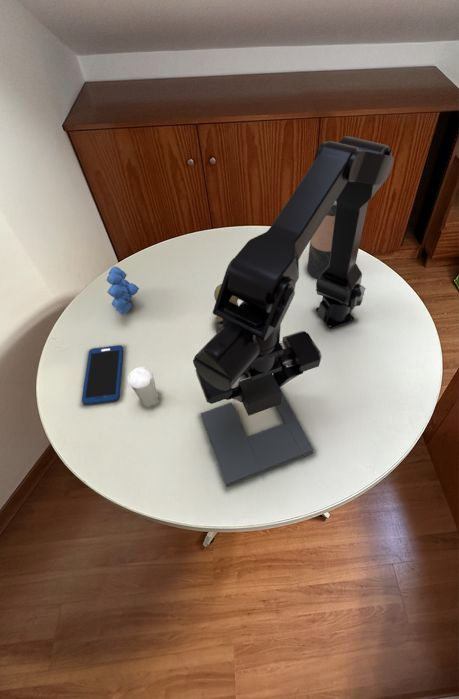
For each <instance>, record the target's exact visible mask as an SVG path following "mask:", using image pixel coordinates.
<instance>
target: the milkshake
mask: <svg viewBox="0 0 459 699" xmlns="http://www.w3.org/2000/svg"><path fill="white" fill-rule="evenodd" d="M127 383H128V385H129V386H130V387H131V389H132V391H134V393H135V395H136V396H137V398H138V399H139V401H140V402H141V403H142V405H143V406H145V407H146V408H152V407H154V406H156V405H157V404H158V402H159V400H160V399H159V395H158V391H157V386H156V382H155V377H154V372H153V371H152V369H150V368H148V367H147V366H138V367H135V368H133V369H132V370H131V372H130V373H129V374H128V376H127Z"/></svg>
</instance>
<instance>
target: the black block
mask: <svg viewBox="0 0 459 699" xmlns="http://www.w3.org/2000/svg"><path fill="white" fill-rule="evenodd" d="M239 385H240V387H241V389H242V391H243V393H244V401H243V402H241V403H242V405H243V408H244V409H245V412H246V414H247V416H248V417H250V416H253V415H255V414H259V413H261V412H265V411H266V410H269V409H272V408H276V407H275V406H278V405H280V404H281V399H282V392H283V391H282V388H281V387H279V385H278V383H277V382H276V380H275V378H274V376H273V373H272V374H270V375H267V376H264V377H261V378H258V379H255V380H252V381H251V379H250V378H249V379H246V380H244V381H241V382H239Z"/></svg>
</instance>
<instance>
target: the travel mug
mask: <svg viewBox="0 0 459 699" xmlns="http://www.w3.org/2000/svg"><path fill="white" fill-rule="evenodd" d="M335 212H336V201H335V203H334V204H333V206H332V207H331V209H330V210H329V212H328V214H327V215H326V217H325V218H324V220H323V221H322V223H321V224H320V226H319V228H318V229H317V231H316V232H315V234H314V235H313V237H312V239H311V240H310V242H309V248H308V259H307V266H306V267H307V269H306V270H307V273H308V274H309V276H311V277H312V278H314V279H316V280H317V279H318V277H319V275H320V273H321V272H322V271H323V270H324V269H325V268H326V266H327V265H328V264H329V261H330V253H331V245H332V237H333V228H334V220H335Z"/></svg>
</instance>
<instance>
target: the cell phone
mask: <svg viewBox="0 0 459 699" xmlns="http://www.w3.org/2000/svg"><path fill="white" fill-rule="evenodd" d="M123 358H124V347H123V346H122V344H121V345H111V346H103V347H95V348H91V349H89V351H88V355H87V362H86V369H85V376H84V382H83V389H82V396H81V403H82V404H83V405H84V406H85V405H95V404H103V403H110V402H116V401H118V400H119V399H120V394H121V383H122V382H121V381H122V372H123V370H122V369H123Z"/></svg>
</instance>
